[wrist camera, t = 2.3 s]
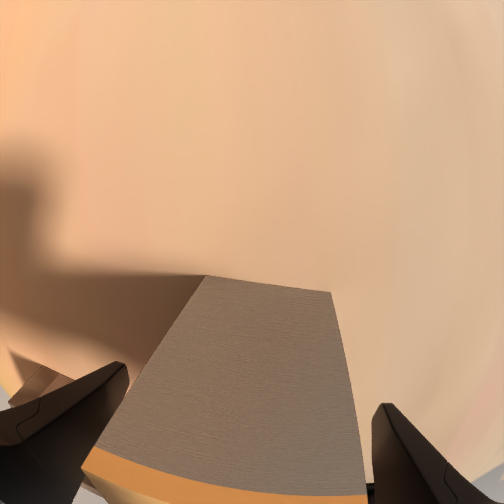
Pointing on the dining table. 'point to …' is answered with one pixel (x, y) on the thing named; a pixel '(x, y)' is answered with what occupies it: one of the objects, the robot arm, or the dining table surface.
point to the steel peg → (238, 407)
